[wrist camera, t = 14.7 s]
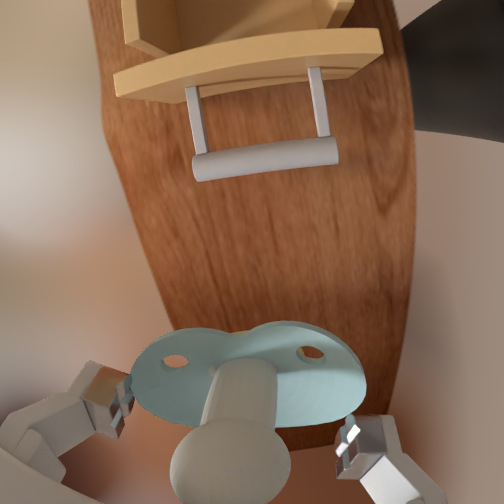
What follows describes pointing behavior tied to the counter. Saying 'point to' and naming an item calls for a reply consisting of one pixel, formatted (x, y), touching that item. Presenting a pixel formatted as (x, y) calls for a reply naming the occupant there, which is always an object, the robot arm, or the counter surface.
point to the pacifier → (244, 403)
